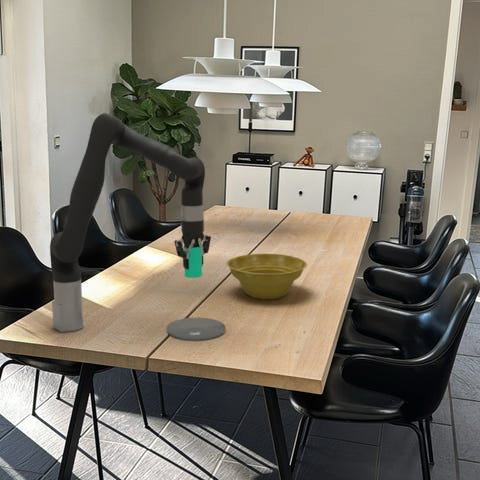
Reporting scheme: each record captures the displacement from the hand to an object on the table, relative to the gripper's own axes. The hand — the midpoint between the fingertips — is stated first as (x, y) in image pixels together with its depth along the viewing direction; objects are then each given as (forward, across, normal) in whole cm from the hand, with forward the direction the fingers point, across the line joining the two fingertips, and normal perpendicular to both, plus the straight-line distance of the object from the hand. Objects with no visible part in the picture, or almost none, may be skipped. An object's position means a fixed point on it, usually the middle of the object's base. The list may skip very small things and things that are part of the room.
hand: (193, 267), depth 227 cm
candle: (+3, 0, 0) cm, 3 cm away
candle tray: (+22, 0, -2) cm, 22 cm away
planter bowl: (+23, +47, +15) cm, 54 cm away
